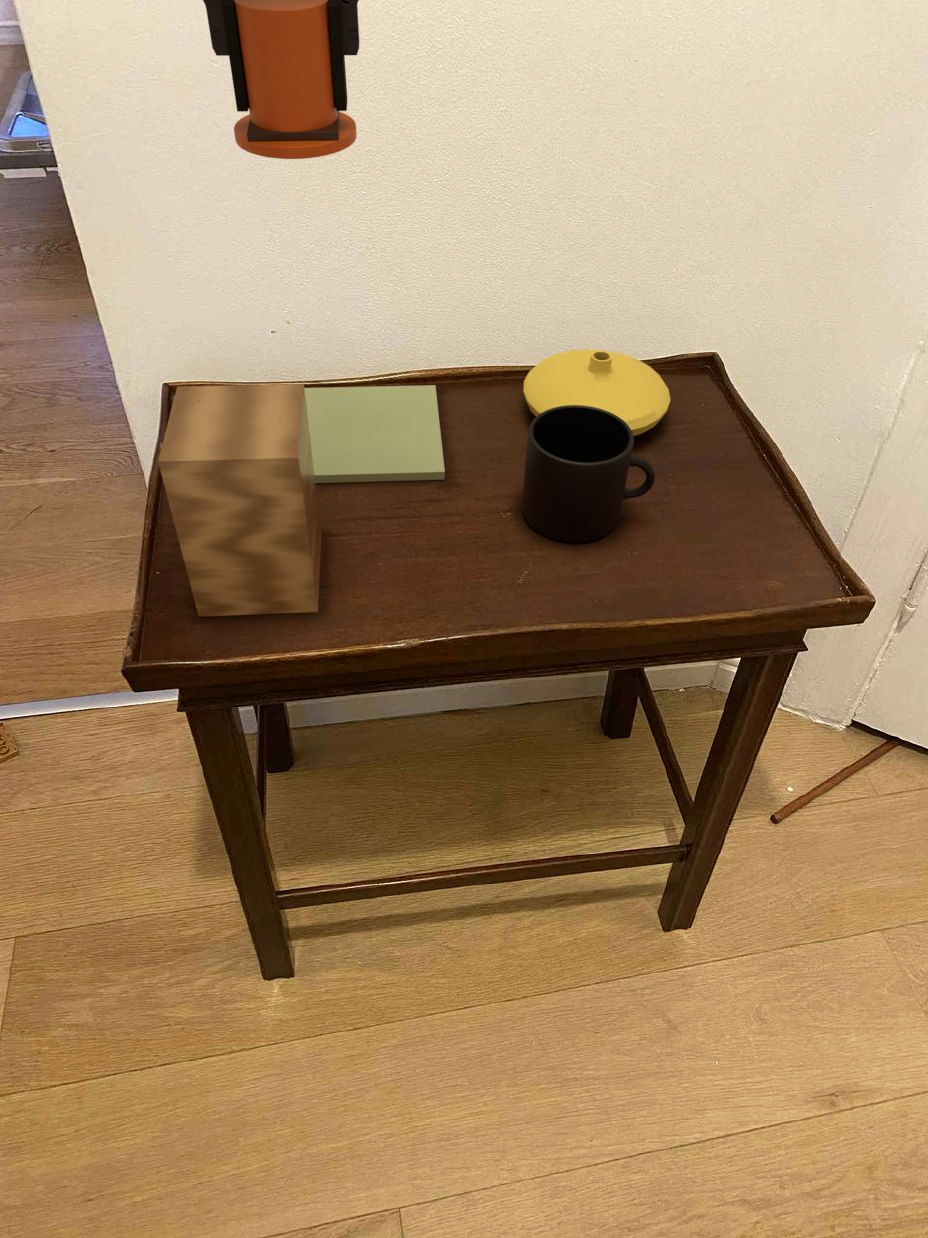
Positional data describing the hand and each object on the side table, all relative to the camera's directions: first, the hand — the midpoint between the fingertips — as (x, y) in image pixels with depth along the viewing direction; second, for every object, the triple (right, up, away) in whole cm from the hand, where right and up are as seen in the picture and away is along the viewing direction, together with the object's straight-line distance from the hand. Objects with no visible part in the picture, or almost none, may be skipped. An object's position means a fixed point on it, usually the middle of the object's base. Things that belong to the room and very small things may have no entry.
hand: (293, 104), depth 67 cm
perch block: (-5, -34, +14) cm, 37 cm away
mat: (+1, -18, +29) cm, 34 cm away
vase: (+27, -15, +33) cm, 45 cm away
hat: (0, -2, +2) cm, 2 cm away
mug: (+24, -28, +21) cm, 42 cm away
